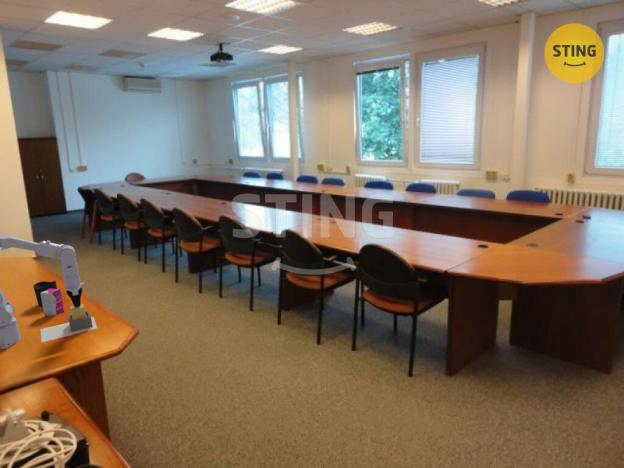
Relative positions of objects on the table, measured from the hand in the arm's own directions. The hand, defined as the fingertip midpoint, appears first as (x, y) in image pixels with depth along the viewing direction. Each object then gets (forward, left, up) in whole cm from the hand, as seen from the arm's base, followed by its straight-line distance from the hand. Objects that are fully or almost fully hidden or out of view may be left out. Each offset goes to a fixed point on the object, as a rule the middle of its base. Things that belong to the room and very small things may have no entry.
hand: (77, 306), depth 182 cm
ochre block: (0, 0, -5) cm, 5 cm away
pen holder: (+27, +33, -10) cm, 44 cm away
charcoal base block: (0, 0, -9) cm, 9 cm away
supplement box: (+14, +21, -10) cm, 27 cm away
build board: (-3, +4, -10) cm, 11 cm away
